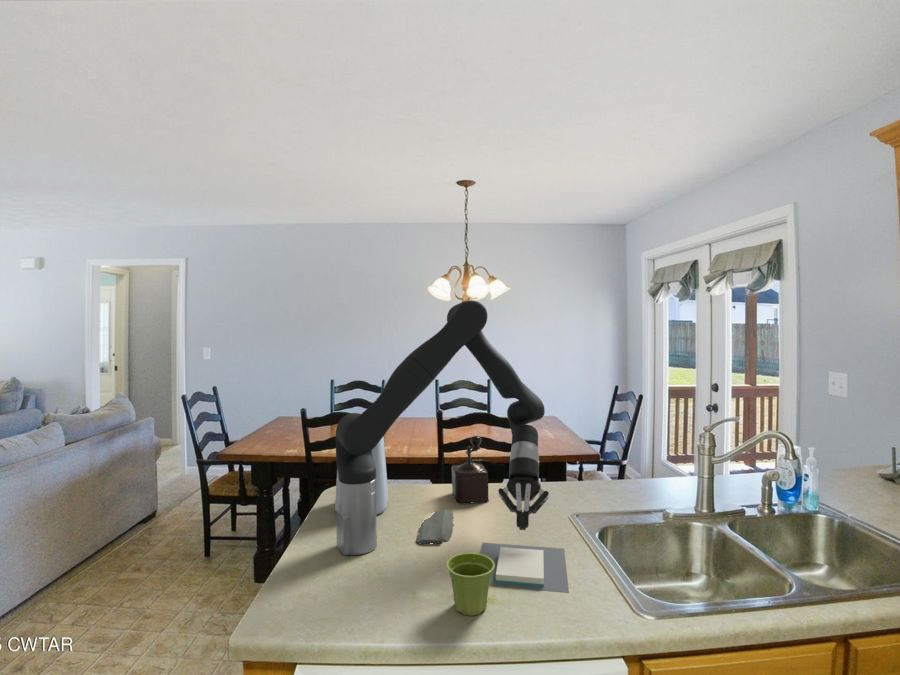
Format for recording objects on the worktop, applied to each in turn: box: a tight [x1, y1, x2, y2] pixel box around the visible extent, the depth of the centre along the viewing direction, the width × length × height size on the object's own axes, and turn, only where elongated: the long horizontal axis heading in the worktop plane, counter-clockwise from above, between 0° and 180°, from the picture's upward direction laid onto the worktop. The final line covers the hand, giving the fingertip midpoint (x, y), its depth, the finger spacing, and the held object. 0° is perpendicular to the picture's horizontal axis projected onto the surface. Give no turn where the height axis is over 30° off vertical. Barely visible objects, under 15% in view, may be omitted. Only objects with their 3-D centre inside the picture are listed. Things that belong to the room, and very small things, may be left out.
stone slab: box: [415, 508, 455, 545], centre depth 135 cm, size 22×3×10 cm
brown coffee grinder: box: [451, 435, 490, 504], centre depth 160 cm, size 16×11×18 cm
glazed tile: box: [496, 547, 544, 587], centre depth 109 cm, size 2×10×13 cm
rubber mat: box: [479, 542, 570, 594], centre depth 111 cm, size 20×20×1 cm
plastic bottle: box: [334, 435, 389, 516], centre depth 149 cm, size 15×15×28 cm
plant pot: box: [446, 552, 495, 617], centre depth 96 cm, size 9×9×9 cm
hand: (522, 528), depth 116 cm, fingers closed
